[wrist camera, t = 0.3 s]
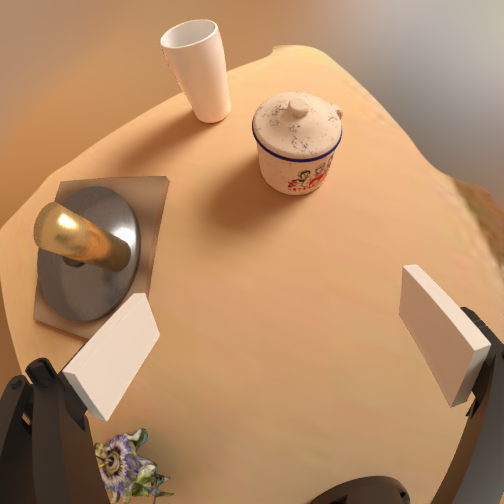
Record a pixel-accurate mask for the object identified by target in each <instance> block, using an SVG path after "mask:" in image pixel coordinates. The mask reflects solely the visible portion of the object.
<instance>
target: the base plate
mask: <svg viewBox="0 0 504 504" xmlns="http://www.w3.org/2000/svg"><path fill="white" fill-rule="evenodd" d="M169 182H170V181H169V180H168V179H167V177H166V176H147V177H119V178H101V179H86V180H74V181H63V182H60V185H59V188H58V192H57V195H56V198H55V201H54V202H56V203H58V204H61V203H62V202H63V201H64V200H65V199H66V198H67V197H69V196H70V195H71V194H73V193H75V192H76V191H79V190H81V189H83V188H87V187H92V186H102V187H106V188H109V189H111V190H113V191H115V192H116V193H118V194H119V195H120V196H121V197H123V198H124V199H125V200H126V201H127V202H128V203H129V205H130V206H131V207H132V209H133V211H134V213H135V215H136V218H137V220H138V223H139V228H140V235H141V254H140V261H139V266H138V270H137V273H136V276H135V279H134V281H133V283H132V286H131V288H130V290H129V291H128V293H127V295H126V296H125V298H124V299H123V300H122V302H121V303H120V304H119V305H118V306H117V307H116V308H115V309H114V310H113V311H112V312H111V313H109V314H108V315H106V316H104V317H103V318H100V319H98V320H95V321H89V322H81V321H71V320H68V319H66V318H63V317H62V316H60V315H59V314H57V313H56V312H55V311H54V310H53V309H52V308H51V306H50V305H49V304H48V302H47V300H46V299H45V297H44V295H43V292H42V290H41V286H40V283H39V278H38V279H37V286H36V295H35V304H34V316H33V319H36V320H38V321H40V322H43V323H45V324H48V325H51V326H53V327H56V328H58V329H61V330H64V331H66V332H69V333H72V334H75V335H78V336H81V337H84V338H87V339H91V338H92V337H93V336H94V335H95V334H96V333H97V331H98V330H99V329H100V328H101V327H102V326H103V325H104V324H105V323H106V322H107V321H108V320H109V319H110V318H111V316H112V315H113V314H114V313H115V312H116V311H117V310H118V309H119V308H120V307H121V306H122V305H123V304H124V303H125V302H126V301H127V300H128V299H129V298H130V297H131V296H132V295H133V294H134V293H145V294H146V297H147V300H148V297H149V290H150V282H151V276H152V269H153V263H154V256H155V251H156V245H157V239H158V234H159V229H160V223H161V218H162V214H163V209H164V204H165V200H166V195H167V191H168V186H169Z"/></svg>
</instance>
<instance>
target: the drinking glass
mask: <svg viewBox="0 0 504 504" xmlns="http://www.w3.org/2000/svg"><path fill="white" fill-rule="evenodd" d="M160 45H161V48H162V51H163V54H164V56H165V59H166V61H167V63H168V65H169V67H170V69H171V71H172V73H173V75H174V76H175V78H176V80H177V82H178V83H179V85H180V87H181V89H182V90H183V92H184V94H185V95H186V97H187V99H188V101H189V103H190V104H191V106H192V108H193V110H194V112H195V115H196V117H197V118H198V119H199V120H200V121H202V122H205V123H214V122H218V121H220V120H222V119H224V118H225V117H226V116H227V115H228V114H229V112H230V110H231V103H230V99H229V92H228V83H227V74H226V65H225V56H224V50H223V44H222V40H221V36H220V33H219V30H218V26H217V24H216V23H215V22H213V21H210V20H193V21H188V22H185V23H182V24H180V25H177V26H175V27H173V28H171V29H170V30H169V31H167V32H166V33H165V34H164V35H163V36H162V38H161V40H160Z"/></svg>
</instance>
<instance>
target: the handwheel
mask: <svg viewBox="0 0 504 504" xmlns="http://www.w3.org/2000/svg"><path fill="white" fill-rule="evenodd" d="M34 240H35V243H36V245H37V246H38V247H39V251H38V261H37V267H38V278H39V283H40V286H41V290H42V292H43V295H44V297H45V299H46V300H47V302H48V304H49V305H50V306H51V308H52V309H53V310H54V311H55V312H56V313H57V314H59V315H60V316H62V317H63V318H66V319H68V320H71V321H81V322H89V321H95V320H98V319H100V318H103V317H104V316H106V315H108V314H109V313H111V312H112V311H113V310H114V309H115V308H116V307H117V306H118V305H119V304H120V303H121V302H122V300H123V299H124V298H125V296H126V295H127V293H128V291H129V290H130V288H131V286H132V283H133V281H134V279H135V276H136V273H137V270H138V266H139V261H140V254H141V235H140V228H139V223H138V220H137V218H136V215H135V213H134V211H133V209H132V207H131V206H130V205H129V203H128V202H127V201H126V200H125V199H124V198H123V197H121V196H120V195H119V194H118V193H116V192H115V191H113V190H111V189H109V188H106V187H102V186H92V187H87V188H83V189H81V190H79V191H76V192H75V193H73V194H71V195H70V196H69V197H67V198H66V199H65V200H64V201H63V202H62V203H61V204H58V203H56V202H51V203H49V204H47V205H46V206H45V207H44V208H43V209H42V210H41V211H40V213H39V215H38V217H37V219H36V221H35V225H34Z"/></svg>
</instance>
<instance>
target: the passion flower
mask: <svg viewBox="0 0 504 504" xmlns="http://www.w3.org/2000/svg"><path fill="white" fill-rule="evenodd" d="M147 438H148V434H147V431H146V430H145V429H141V428H140V429H139V430H138V432H135V433H134V435H133V436H130V435H129V434H128V433H124V434H123V435H117V437H114V438H113V439H112V440H110V444H109V445H108V444H106V445H105V446H104V445H103V444H102V443H101V444H100V445H99V443H96V444H95V446H94V450H95V454H96V458H97V462H98V466H99V469H100V473H101V476H102V480H103V483H104V486H105V489H109V490H111V493H112V491H113V496H114V497H113V498H112V500H111V501H110V502H111V503H115V502H118V500H119V499H120V494H121V497H123V502H125V503H126V504H128V503H129V501H130V497H131V492H132V496H142V495H146V496H147V497H148V496H149V494H152V495H153V496H154V501H153V504H155V501H156V500H155V499H156V497H158V496H172V495H174V493H165V492H160V491H158V487H159V485H160V484H162V483H163V482H165V481H167V480H168V479H170V477H164V476H162V475H159V474H158V473H157V464H155V463H154V462H153V461H151V460H148V459H145V458H142V457H140V456H139V455H138V454H137V448H138V447H139V446H140V444H143V443H145V441H146V440H147ZM153 475H154V476H153ZM155 480H156V485H155V488H154V489H151V488H150V487H151V486H153V484H154V481H155Z"/></svg>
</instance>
